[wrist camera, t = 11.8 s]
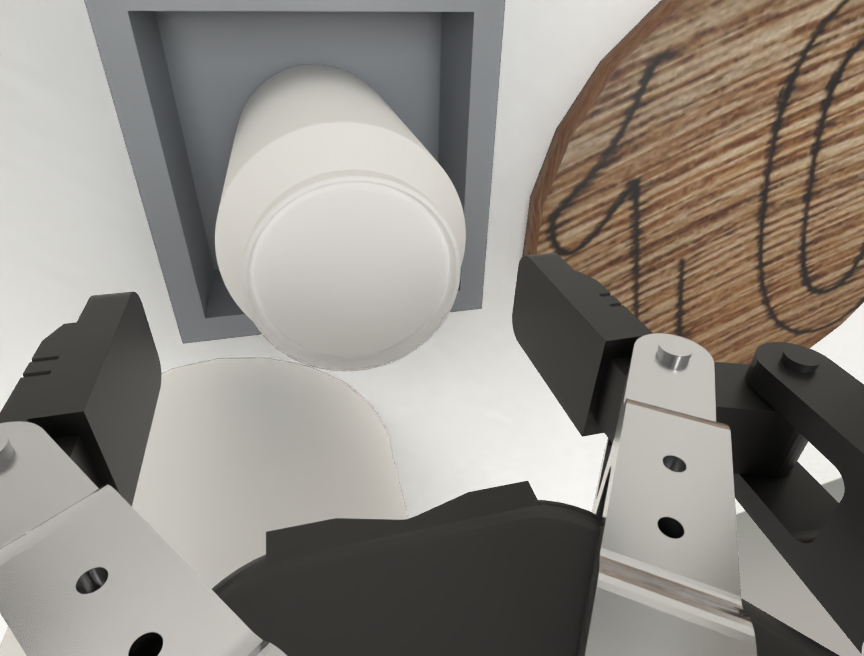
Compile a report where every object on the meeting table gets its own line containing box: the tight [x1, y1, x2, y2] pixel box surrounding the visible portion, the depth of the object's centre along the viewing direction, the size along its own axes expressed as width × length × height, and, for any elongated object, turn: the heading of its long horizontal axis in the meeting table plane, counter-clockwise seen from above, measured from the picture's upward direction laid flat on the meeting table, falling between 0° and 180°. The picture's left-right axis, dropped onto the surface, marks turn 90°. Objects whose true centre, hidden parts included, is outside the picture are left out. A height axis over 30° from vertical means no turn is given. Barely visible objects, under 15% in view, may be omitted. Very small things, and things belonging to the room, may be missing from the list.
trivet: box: [523, 0, 864, 364], centre depth 30 cm, size 25×25×2 cm
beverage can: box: [215, 65, 466, 371], centre depth 17 cm, size 6×6×12 cm
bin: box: [84, 0, 505, 343], centre depth 21 cm, size 12×12×5 cm
